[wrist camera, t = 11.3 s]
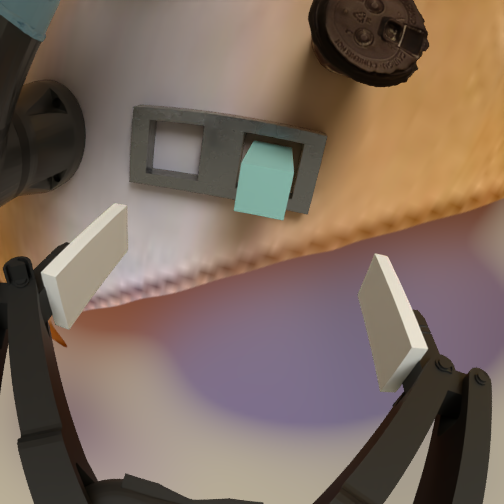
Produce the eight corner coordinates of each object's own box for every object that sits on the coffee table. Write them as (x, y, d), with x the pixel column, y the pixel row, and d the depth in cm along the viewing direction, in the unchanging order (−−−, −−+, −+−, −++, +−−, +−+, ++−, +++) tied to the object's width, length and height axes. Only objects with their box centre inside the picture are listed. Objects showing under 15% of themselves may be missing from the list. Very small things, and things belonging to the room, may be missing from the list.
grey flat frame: (136, 176, 35) (129, 181, 33) (141, 104, 31) (133, 106, 29) (306, 207, 35) (307, 214, 33) (325, 133, 31) (327, 136, 29)
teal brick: (248, 175, 34) (233, 210, 25) (254, 140, 32) (241, 162, 23) (284, 182, 34) (283, 220, 25) (291, 147, 32) (293, 172, 23)
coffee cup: (398, 66, 26) (458, 61, 15) (333, 100, 29) (362, 110, 18) (352, -3, 23) (388, -46, 11) (285, 31, 26) (283, -2, 14)
